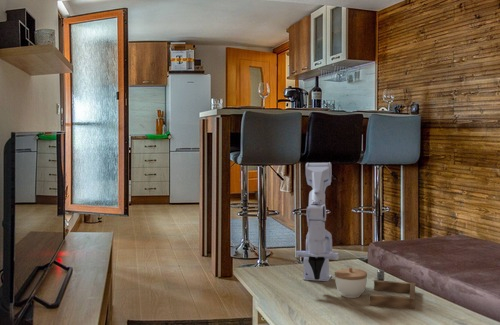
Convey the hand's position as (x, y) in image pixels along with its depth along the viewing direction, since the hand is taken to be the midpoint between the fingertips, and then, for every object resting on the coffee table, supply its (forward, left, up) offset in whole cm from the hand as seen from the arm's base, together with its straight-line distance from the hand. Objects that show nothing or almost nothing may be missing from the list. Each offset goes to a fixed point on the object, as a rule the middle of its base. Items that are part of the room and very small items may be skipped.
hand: (317, 278), depth 172 cm
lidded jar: (+11, 0, -5) cm, 13 cm away
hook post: (+21, +10, -5) cm, 23 cm away
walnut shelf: (+24, 0, -5) cm, 25 cm away
